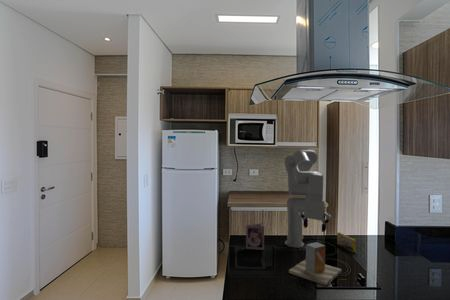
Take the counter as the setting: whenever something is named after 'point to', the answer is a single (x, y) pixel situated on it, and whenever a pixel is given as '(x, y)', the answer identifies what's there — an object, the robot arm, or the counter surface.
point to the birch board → (319, 277)
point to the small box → (315, 257)
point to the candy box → (346, 242)
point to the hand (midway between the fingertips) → (314, 229)
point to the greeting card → (255, 236)
